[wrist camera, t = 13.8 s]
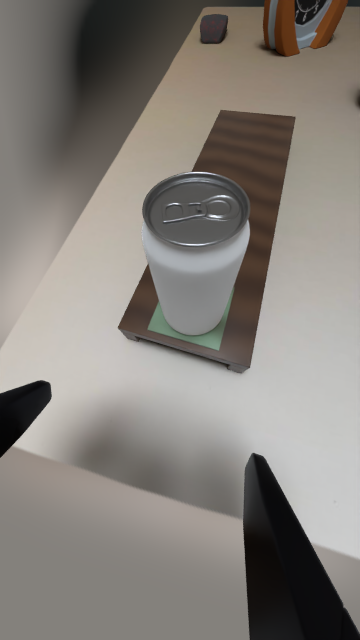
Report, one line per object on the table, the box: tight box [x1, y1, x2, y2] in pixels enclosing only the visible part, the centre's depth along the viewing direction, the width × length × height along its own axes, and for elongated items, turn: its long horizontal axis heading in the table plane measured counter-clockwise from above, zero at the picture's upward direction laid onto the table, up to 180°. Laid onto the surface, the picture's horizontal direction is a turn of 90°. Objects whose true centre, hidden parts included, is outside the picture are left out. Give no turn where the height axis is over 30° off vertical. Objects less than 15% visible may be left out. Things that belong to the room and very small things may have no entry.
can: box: [142, 172, 250, 335], centre depth 16 cm, size 6×6×12 cm
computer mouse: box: [200, 14, 228, 43], centre depth 63 cm, size 8×14×4 cm, turn 167°
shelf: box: [118, 110, 295, 373], centre depth 30 cm, size 48×14×4 cm, turn 162°
